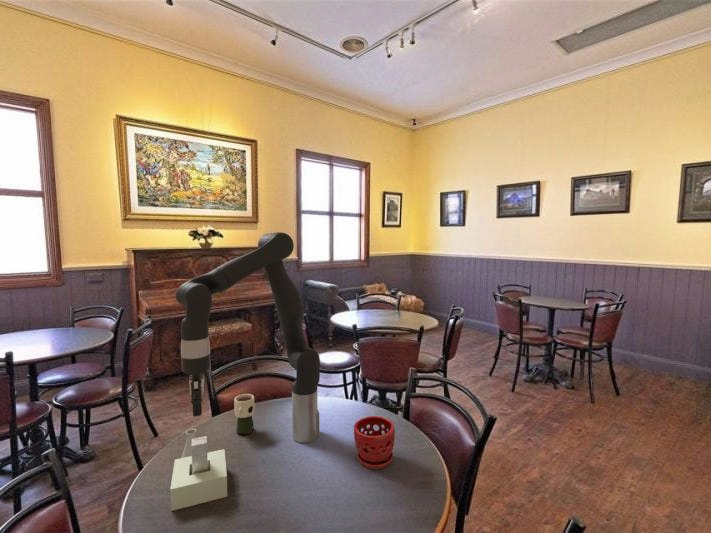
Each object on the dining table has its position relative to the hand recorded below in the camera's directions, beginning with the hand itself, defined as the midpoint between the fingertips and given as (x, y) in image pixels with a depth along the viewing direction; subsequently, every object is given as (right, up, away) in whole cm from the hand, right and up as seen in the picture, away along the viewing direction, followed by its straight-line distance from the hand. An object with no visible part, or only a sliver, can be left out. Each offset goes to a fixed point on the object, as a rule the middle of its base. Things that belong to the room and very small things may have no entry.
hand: (197, 408), depth 102 cm
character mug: (+3, -22, +32) cm, 39 cm away
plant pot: (+51, -23, +14) cm, 58 cm away
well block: (0, -23, +2) cm, 24 cm away
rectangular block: (0, -23, +2) cm, 24 cm away
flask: (-8, -23, +14) cm, 28 cm away
